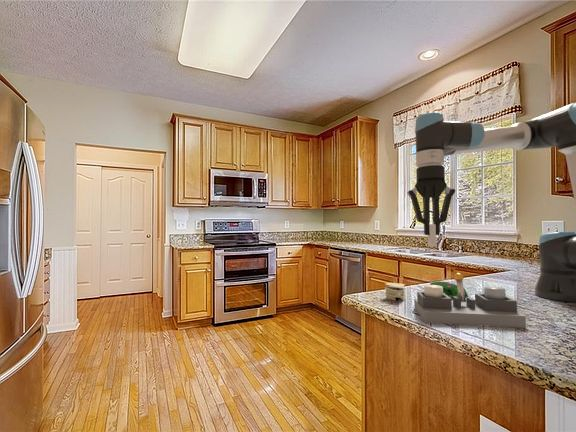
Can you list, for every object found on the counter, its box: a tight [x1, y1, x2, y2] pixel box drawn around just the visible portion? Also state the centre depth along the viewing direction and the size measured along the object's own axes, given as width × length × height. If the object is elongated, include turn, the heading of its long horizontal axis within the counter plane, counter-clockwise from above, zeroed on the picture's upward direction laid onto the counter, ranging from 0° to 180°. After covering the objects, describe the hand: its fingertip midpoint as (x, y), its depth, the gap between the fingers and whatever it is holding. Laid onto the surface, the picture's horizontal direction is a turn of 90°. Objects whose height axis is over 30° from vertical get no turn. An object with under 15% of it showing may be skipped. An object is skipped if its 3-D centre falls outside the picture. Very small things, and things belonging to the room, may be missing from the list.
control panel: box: [413, 291, 527, 329], centre depth 86 cm, size 24×14×6 cm, turn 78°
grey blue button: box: [483, 285, 507, 300], centre depth 84 cm, size 5×5×3 cm
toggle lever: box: [453, 272, 466, 302], centre depth 88 cm, size 3×3×8 cm
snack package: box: [429, 281, 469, 300], centre depth 109 cm, size 7×16×5 cm, turn 4°
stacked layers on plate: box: [384, 282, 406, 301], centre depth 107 cm, size 10×9×6 cm
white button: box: [423, 284, 443, 298], centre depth 87 cm, size 5×5×3 cm
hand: (431, 246), depth 88 cm, fingers closed
